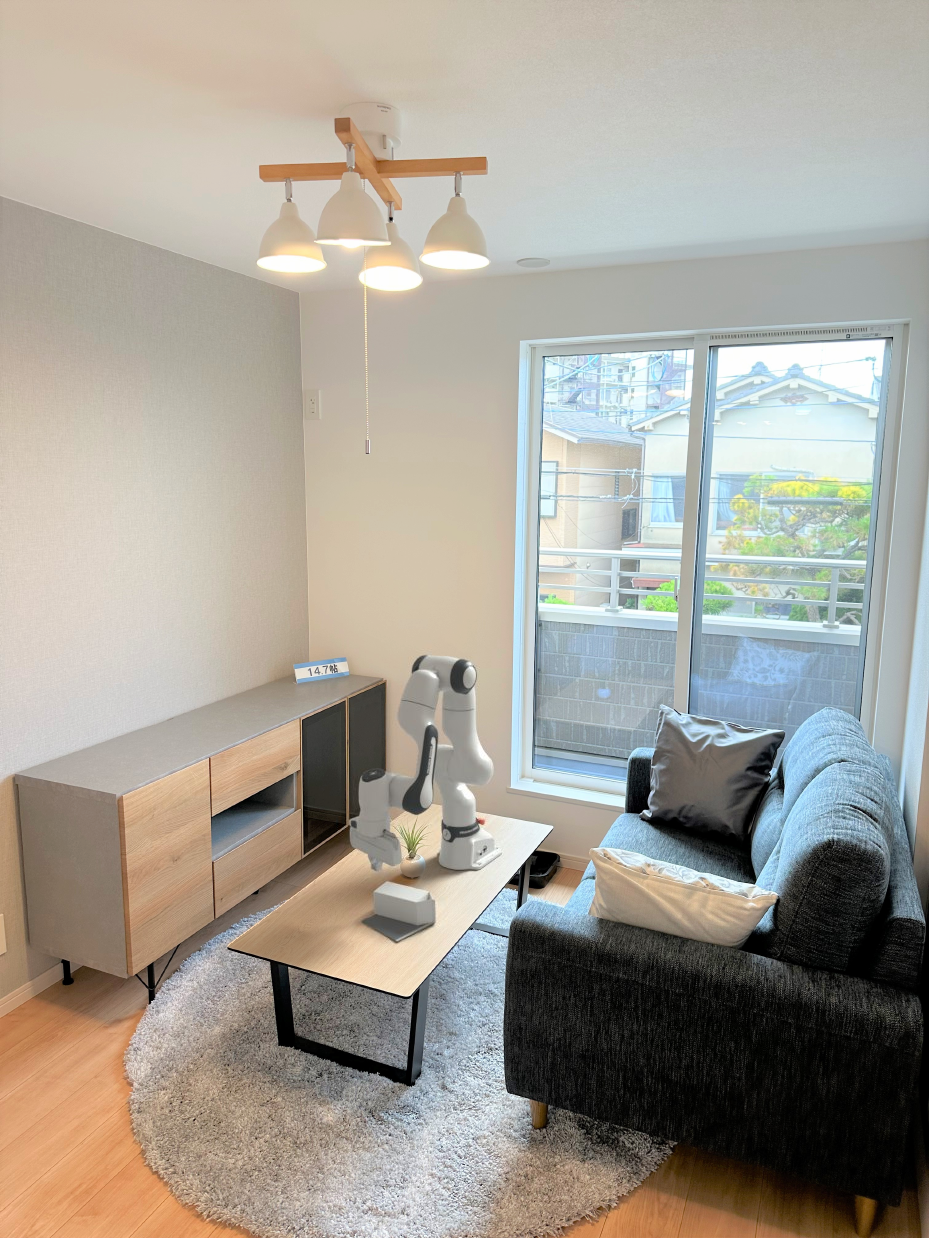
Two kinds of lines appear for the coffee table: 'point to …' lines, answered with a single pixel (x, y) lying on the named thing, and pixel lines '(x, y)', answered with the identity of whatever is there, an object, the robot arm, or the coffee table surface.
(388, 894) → the milk carton
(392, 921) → the mat
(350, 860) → the coffee table surface
